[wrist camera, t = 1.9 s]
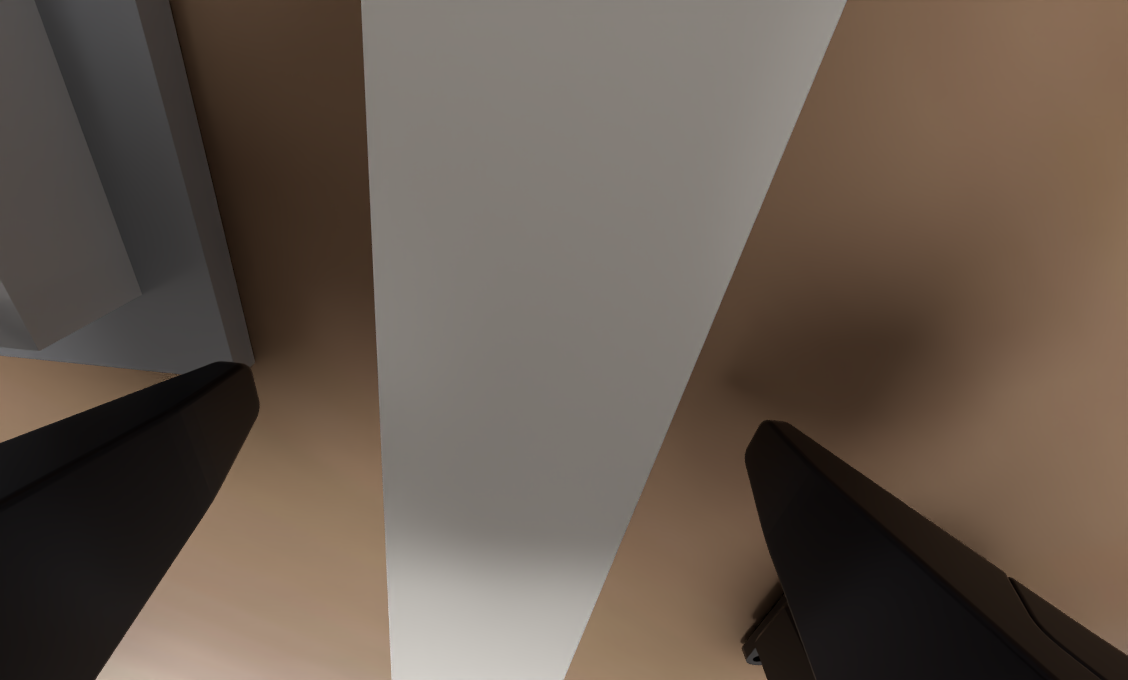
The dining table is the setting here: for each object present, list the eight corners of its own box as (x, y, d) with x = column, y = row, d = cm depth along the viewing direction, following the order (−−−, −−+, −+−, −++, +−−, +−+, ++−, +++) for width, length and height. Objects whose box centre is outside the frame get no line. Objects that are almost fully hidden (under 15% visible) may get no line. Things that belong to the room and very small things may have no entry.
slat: (691, 35, 7) (848, -5, 3) (555, 524, 13) (559, 688, 9) (459, -21, 6) (354, -138, 3) (433, 514, 12) (391, 684, 9)
